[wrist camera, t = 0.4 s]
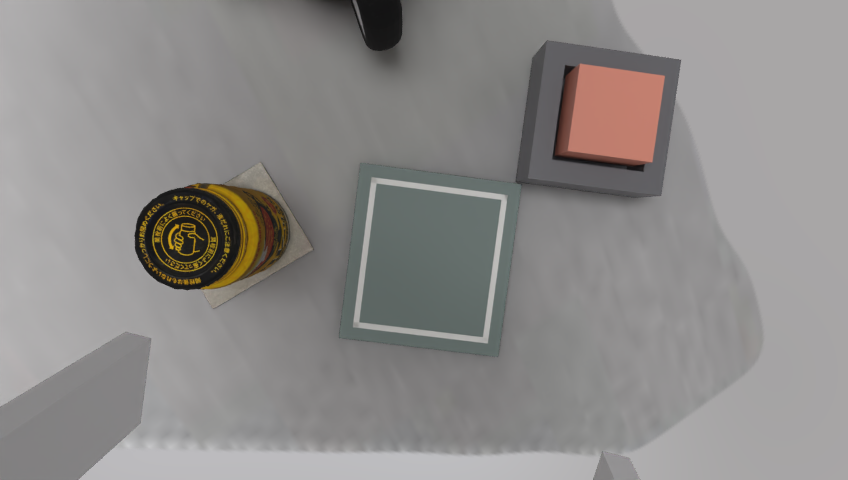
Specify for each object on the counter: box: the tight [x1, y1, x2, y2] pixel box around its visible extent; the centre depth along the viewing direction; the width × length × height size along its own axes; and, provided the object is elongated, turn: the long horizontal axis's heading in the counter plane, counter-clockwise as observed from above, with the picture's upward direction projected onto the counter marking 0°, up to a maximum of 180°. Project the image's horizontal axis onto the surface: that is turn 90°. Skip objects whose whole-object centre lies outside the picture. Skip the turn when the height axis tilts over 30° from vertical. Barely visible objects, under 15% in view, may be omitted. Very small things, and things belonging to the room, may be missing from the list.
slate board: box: [339, 163, 522, 357], centre depth 40 cm, size 13×12×1 cm
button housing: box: [516, 40, 681, 198], centre depth 38 cm, size 9×9×4 cm
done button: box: [555, 64, 665, 167], centre depth 36 cm, size 5×5×3 cm
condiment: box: [135, 162, 314, 309], centre depth 34 cm, size 7×8×12 cm
